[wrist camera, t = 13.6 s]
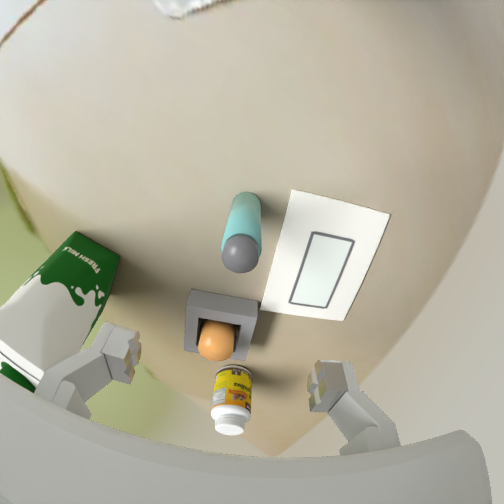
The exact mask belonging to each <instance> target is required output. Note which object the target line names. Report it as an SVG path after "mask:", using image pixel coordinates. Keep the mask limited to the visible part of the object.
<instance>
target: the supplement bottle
mask: <svg viewBox="0 0 504 504" xmlns="http://www.w3.org/2000/svg"><path fill="white" fill-rule="evenodd" d="M251 390H252V376H251V373H250V372H249V371H248V370H247V369H245V368H243V367H241V366H236V365H229V366H224V367H222V368H220V369H219V370H218V372H217V374H216V380H215V387H214V394H213V401H212V408H211V416H212V418H213V419H214V420H216V421H215V429H216V431H218V432H219V433H222V434H226V435H238V434H241V433H243V432H244V426H245V423H246V422H247V421H249V419H250V415H251Z"/></svg>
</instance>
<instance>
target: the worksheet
mask: <svg viewBox="0 0 504 504" xmlns="http://www.w3.org/2000/svg"><path fill="white" fill-rule="evenodd" d="M389 216H390V215H389V214H388V213H385V212H381V211H378V210H374V209H371V208H367V207H364V206H360V205H356V204H353V203H349V202H345V201H341V200H337V199H333V198H329V197H325V196H321V195H317V194H313V193H308V192H304V191H300V190H295V189H292V191H291V194H290V198H289V202H288V206H287V210H286V214H285V218H284V222H283V225H282V229H281V233H280V237H279V241H278V244H277V248H276V252H275V255H274V259H273V263H272V266H271V270H270V274H269V277H268V281H267V285H266V288H265V292H264V295H263V299H262V303H261V306H260V310H264V311H271V312H277V313H284V314H291V315H299V316H306V317H314V318H322V319H330V320H339V321H343V320H344V318H345V316H346V314H347V312H348V310H349V308H350V306H351V304H352V302H353V300H354V298H355V296H356V294H357V292H358V290H359V287H360V285H361V283H362V281H363V279H364V277H365V274H366V272H367V270H368V268H369V265H370V263H371V261H372V259H373V256H374V254H375V252H376V249H377V247H378V244H379V242H380V239H381V237H382V234H383V232H384V229H385V227H386V224H387V222H388V219H389Z"/></svg>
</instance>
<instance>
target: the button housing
mask: <svg viewBox="0 0 504 504" xmlns="http://www.w3.org/2000/svg"><path fill="white" fill-rule="evenodd" d="M257 317H258V301H255V300H249V299H243V298H238V297H232V296H226V295H221V294H215V293H210V292H204V291H199V290H194V289H191V292H190V295H189V298H188V301H187V304H186V316H185V337H184V350H185V351H189V352H195V353H200V352H199V350H198V345H199V340H200V336H201V331H202V329H200V321H201V318H204V319H210V320H215V321H221V322H226V323H232V324H238V325H239V328H238V332H237V335H235V336H234V346H233V354H232V356H231V357H230V358H228V359H235V360H242V361H245V359H246V355H247V352H248V349H249V345H250V342H251V338H252V335H253V332H254V328H255V325H256V321H257Z"/></svg>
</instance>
